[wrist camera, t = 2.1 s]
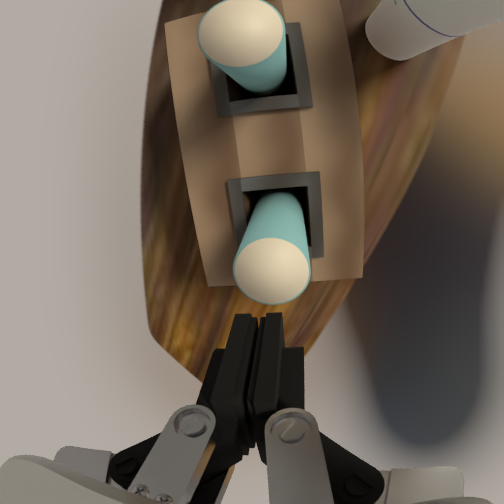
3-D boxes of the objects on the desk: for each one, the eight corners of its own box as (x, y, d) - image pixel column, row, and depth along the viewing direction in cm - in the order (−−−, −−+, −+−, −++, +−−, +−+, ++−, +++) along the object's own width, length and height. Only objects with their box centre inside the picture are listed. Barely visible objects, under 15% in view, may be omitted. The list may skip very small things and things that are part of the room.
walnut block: (231, 237, 37) (206, 289, 26) (204, 52, 27) (162, 21, 16) (341, 229, 35) (363, 280, 24) (322, 38, 25) (339, -4, 14)
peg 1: (236, 57, 20) (192, 6, 9) (283, 51, 20) (278, -9, 9) (242, 99, 22) (201, 76, 11) (289, 93, 21) (291, 63, 10)
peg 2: (254, 187, 25) (226, 239, 14) (299, 183, 24) (308, 233, 13) (259, 229, 27) (238, 306, 16) (303, 226, 26) (311, 303, 15)
